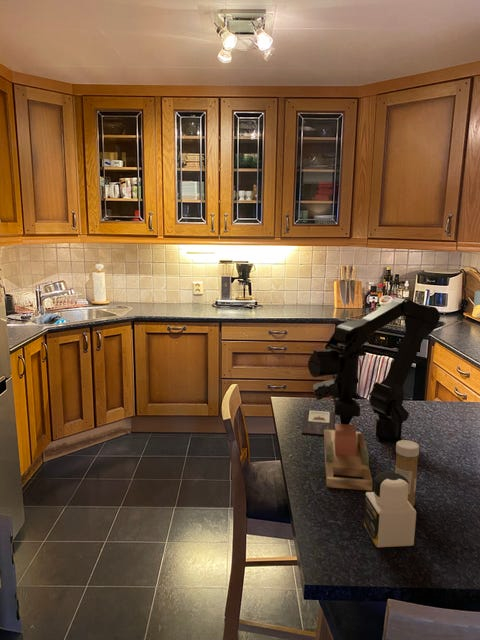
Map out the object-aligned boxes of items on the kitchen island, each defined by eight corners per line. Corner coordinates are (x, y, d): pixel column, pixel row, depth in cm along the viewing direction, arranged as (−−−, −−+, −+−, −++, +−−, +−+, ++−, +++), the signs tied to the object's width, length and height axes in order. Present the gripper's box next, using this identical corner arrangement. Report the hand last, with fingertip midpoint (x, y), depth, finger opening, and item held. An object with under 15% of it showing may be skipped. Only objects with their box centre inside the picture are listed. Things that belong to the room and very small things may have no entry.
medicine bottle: (363, 524, 94) (366, 468, 92) (398, 523, 94) (402, 467, 92) (376, 548, 87) (380, 487, 85) (414, 546, 87) (419, 486, 85)
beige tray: (360, 438, 134) (360, 425, 133) (372, 490, 106) (373, 474, 106) (323, 436, 135) (324, 422, 134) (326, 486, 108) (327, 470, 107)
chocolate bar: (301, 432, 136) (305, 410, 153) (301, 435, 136) (305, 412, 154) (333, 435, 134) (333, 412, 152) (333, 438, 135) (333, 415, 152)
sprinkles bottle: (419, 504, 101) (424, 445, 98) (405, 511, 98) (410, 450, 96) (401, 495, 105) (405, 437, 102) (387, 501, 102) (391, 442, 100)
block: (353, 442, 126) (354, 424, 125) (355, 456, 118) (356, 437, 117) (334, 441, 127) (335, 423, 126) (335, 454, 119) (336, 435, 118)
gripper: (315, 361, 135) (313, 414, 138) (315, 381, 117) (312, 441, 119) (356, 363, 133) (353, 416, 136) (362, 384, 115) (358, 445, 118)
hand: (343, 429), depth 127 cm, fingers closed
